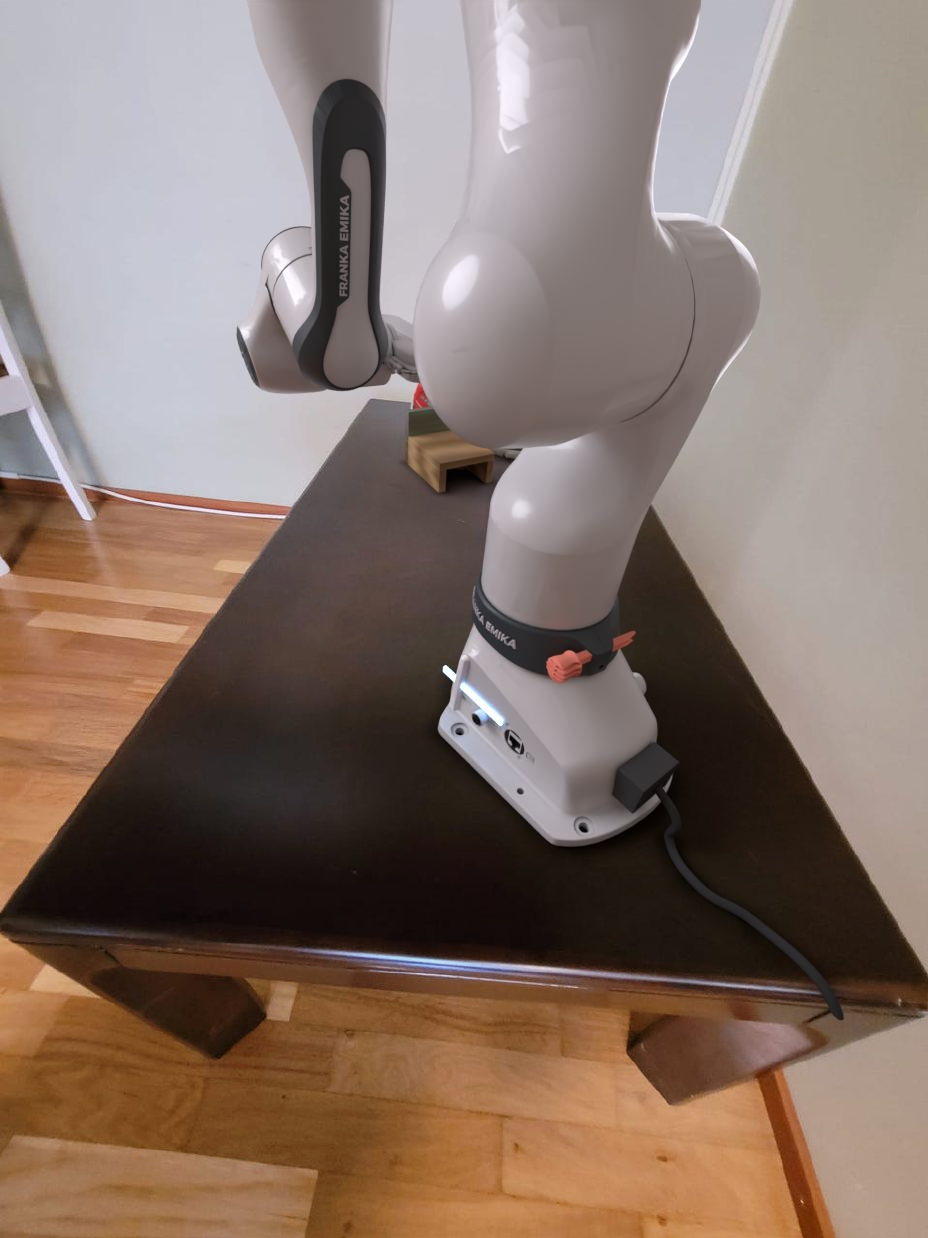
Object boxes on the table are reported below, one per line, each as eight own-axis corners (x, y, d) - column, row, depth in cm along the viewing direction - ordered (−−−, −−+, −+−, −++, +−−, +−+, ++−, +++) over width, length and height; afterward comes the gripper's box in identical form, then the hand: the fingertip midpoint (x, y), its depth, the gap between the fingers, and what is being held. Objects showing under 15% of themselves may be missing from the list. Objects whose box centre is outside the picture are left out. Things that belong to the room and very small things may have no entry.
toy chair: (491, 482, 89) (497, 428, 83) (438, 493, 85) (441, 437, 79) (455, 453, 97) (458, 402, 91) (405, 462, 92) (405, 409, 87)
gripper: (402, 345, 63) (499, 339, 69) (338, 306, 76) (425, 303, 82) (402, 400, 67) (494, 389, 73) (341, 354, 80) (424, 348, 86)
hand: (457, 343), depth 78 cm, fingers closed on soda can, 7 cm apart
